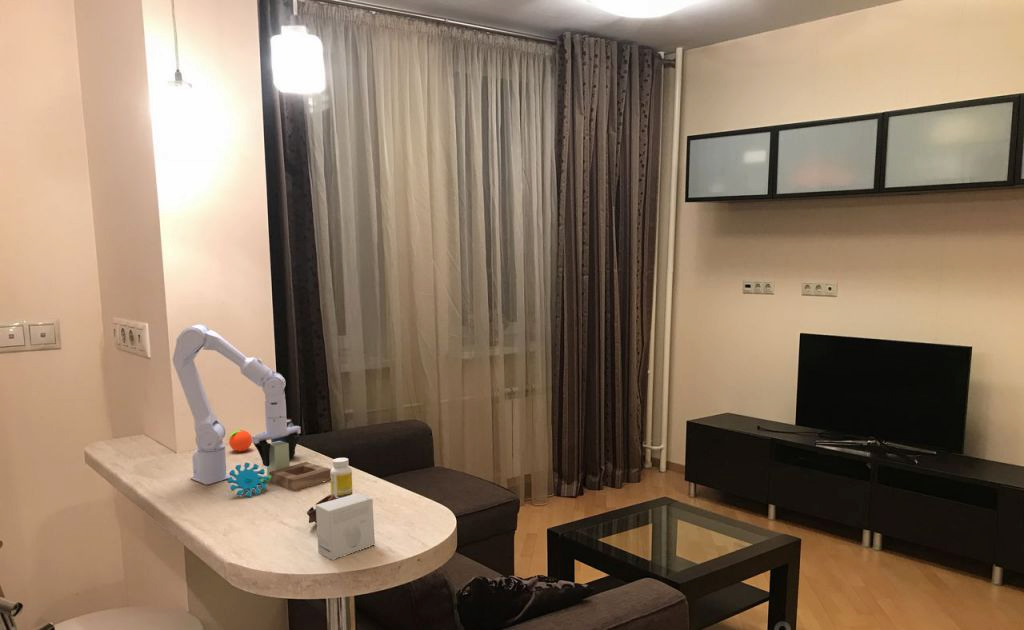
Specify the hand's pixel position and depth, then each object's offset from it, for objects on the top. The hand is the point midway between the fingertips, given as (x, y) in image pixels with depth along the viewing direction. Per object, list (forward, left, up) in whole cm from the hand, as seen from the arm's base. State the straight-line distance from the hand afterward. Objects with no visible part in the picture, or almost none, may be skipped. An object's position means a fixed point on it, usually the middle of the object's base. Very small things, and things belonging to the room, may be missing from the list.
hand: (278, 462), depth 203 cm
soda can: (-13, +10, -4) cm, 17 cm away
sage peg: (0, 0, -3) cm, 3 cm away
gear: (+9, -14, -4) cm, 17 cm away
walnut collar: (+11, 0, -3) cm, 12 cm away
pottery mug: (+46, -14, -4) cm, 48 cm away
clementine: (-32, +6, -4) cm, 33 cm away
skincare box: (+59, -21, -4) cm, 63 cm away
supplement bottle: (+31, -1, -4) cm, 31 cm away
